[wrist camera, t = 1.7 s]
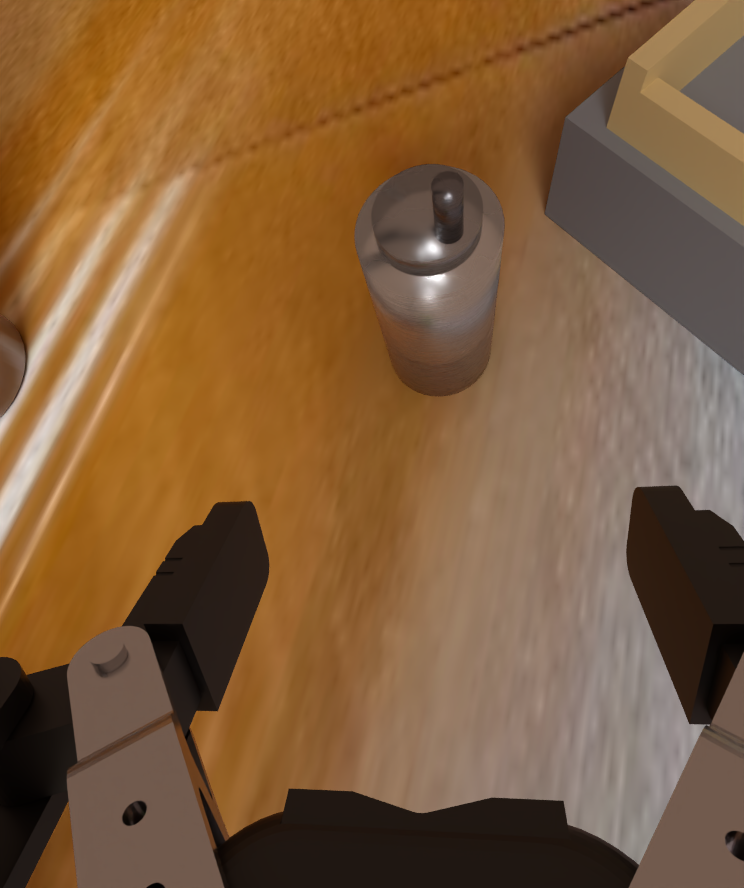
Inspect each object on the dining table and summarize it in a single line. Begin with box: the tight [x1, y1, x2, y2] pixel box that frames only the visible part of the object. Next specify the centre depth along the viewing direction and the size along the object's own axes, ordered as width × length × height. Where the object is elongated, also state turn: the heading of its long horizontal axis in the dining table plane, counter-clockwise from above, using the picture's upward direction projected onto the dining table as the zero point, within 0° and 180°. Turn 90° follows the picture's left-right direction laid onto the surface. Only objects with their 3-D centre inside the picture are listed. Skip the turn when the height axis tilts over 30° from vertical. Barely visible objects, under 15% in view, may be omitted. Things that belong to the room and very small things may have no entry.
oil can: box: [355, 164, 504, 396], centre depth 25 cm, size 6×6×14 cm
